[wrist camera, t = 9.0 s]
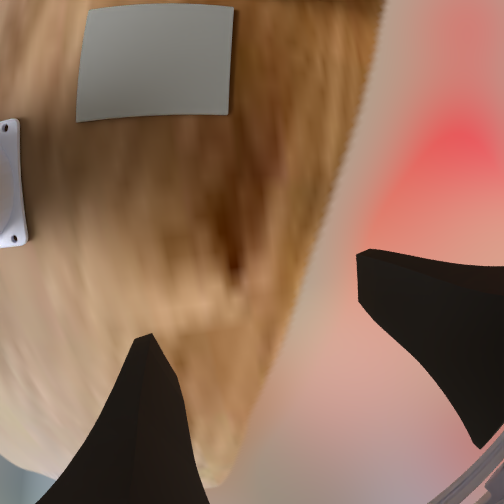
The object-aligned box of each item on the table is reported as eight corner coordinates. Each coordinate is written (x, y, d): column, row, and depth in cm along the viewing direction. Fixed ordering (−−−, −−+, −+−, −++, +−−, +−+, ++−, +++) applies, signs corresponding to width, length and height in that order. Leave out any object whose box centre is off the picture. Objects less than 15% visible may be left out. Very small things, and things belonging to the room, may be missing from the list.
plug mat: (77, 122, 14) (75, 122, 13) (89, 12, 11) (88, 10, 10) (226, 115, 16) (228, 114, 16) (232, 9, 14) (233, 7, 13)
